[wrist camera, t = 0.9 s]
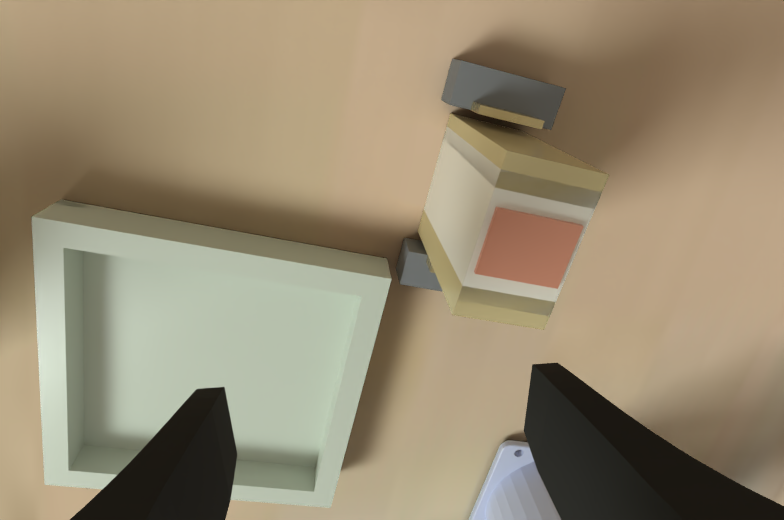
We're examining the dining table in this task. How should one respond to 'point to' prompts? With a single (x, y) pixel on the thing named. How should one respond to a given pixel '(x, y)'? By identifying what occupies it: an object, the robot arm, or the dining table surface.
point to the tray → (199, 345)
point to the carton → (505, 221)
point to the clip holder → (494, 99)
